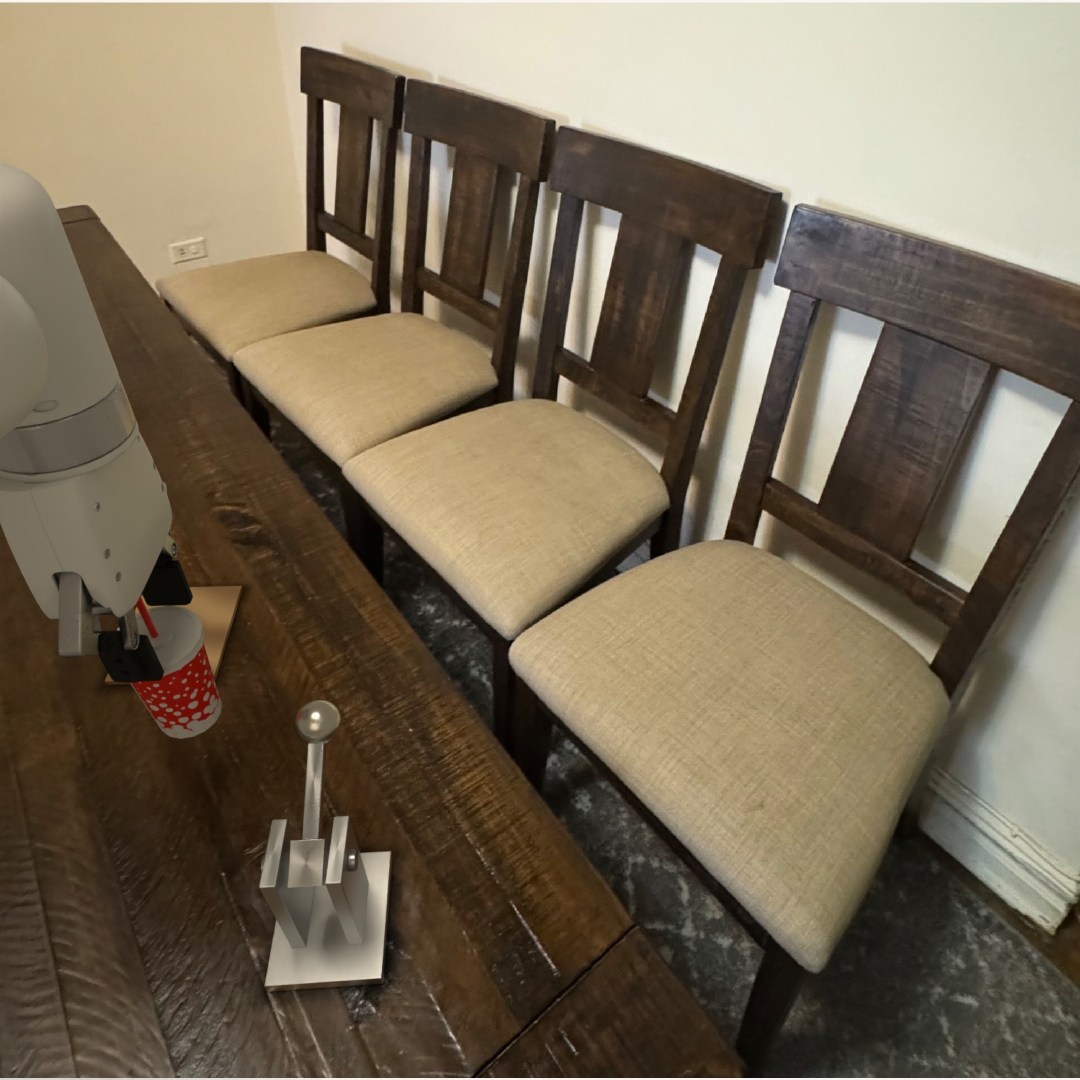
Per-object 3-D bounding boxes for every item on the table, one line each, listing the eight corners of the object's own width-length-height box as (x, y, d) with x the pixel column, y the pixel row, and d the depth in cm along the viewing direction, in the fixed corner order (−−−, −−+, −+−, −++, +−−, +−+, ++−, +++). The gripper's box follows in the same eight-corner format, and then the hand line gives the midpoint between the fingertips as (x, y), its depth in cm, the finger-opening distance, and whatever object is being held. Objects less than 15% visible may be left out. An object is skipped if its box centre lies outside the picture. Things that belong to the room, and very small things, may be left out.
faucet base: (289, 863, 58) (255, 788, 50) (392, 857, 59) (375, 782, 51) (267, 991, 52) (224, 929, 44) (383, 983, 52) (361, 920, 44)
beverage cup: (247, 713, 58) (199, 587, 49) (171, 762, 55) (104, 637, 45) (208, 668, 61) (156, 542, 52) (134, 712, 58) (64, 586, 48)
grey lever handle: (302, 704, 54) (291, 696, 51) (346, 702, 54) (338, 694, 51) (290, 886, 49) (277, 888, 46) (338, 883, 50) (329, 885, 47)
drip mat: (215, 681, 71) (213, 677, 70) (106, 685, 70) (104, 681, 70) (243, 589, 79) (241, 585, 79) (146, 592, 79) (144, 588, 78)
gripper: (48, 344, 46) (140, 555, 58) (-113, 525, 33) (48, 748, 45) (173, 344, 47) (239, 553, 59) (62, 522, 34) (175, 743, 46)
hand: (155, 636), depth 52 cm, fingers closed on beverage cup, 6 cm apart
